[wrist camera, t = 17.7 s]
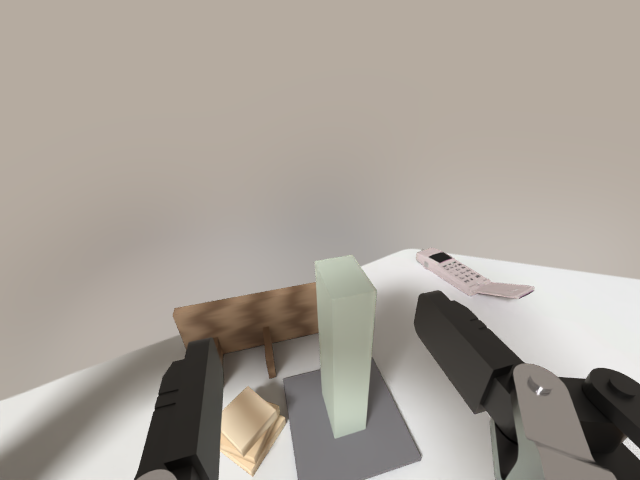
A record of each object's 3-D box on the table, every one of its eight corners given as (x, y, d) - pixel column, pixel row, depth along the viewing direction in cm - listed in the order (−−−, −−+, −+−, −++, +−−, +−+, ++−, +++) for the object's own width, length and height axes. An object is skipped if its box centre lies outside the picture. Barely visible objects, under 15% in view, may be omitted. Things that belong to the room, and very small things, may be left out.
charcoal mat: (301, 501, 29) (300, 498, 29) (283, 381, 41) (283, 378, 41) (420, 460, 32) (421, 457, 32) (371, 359, 44) (372, 356, 44)
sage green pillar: (334, 438, 34) (332, 299, 23) (322, 392, 39) (314, 261, 28) (365, 429, 34) (376, 290, 24) (349, 385, 40) (352, 254, 29)
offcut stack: (252, 480, 31) (245, 460, 29) (211, 448, 34) (202, 428, 32) (287, 422, 36) (284, 402, 34) (249, 399, 39) (244, 379, 37)
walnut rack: (184, 399, 39) (161, 352, 34) (192, 353, 46) (174, 308, 41) (333, 362, 43) (332, 315, 39) (320, 325, 50) (318, 281, 45)
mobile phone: (517, 298, 46) (410, 236, 66) (506, 324, 49) (407, 257, 69) (538, 287, 49) (429, 231, 68) (526, 313, 52) (425, 251, 71)
